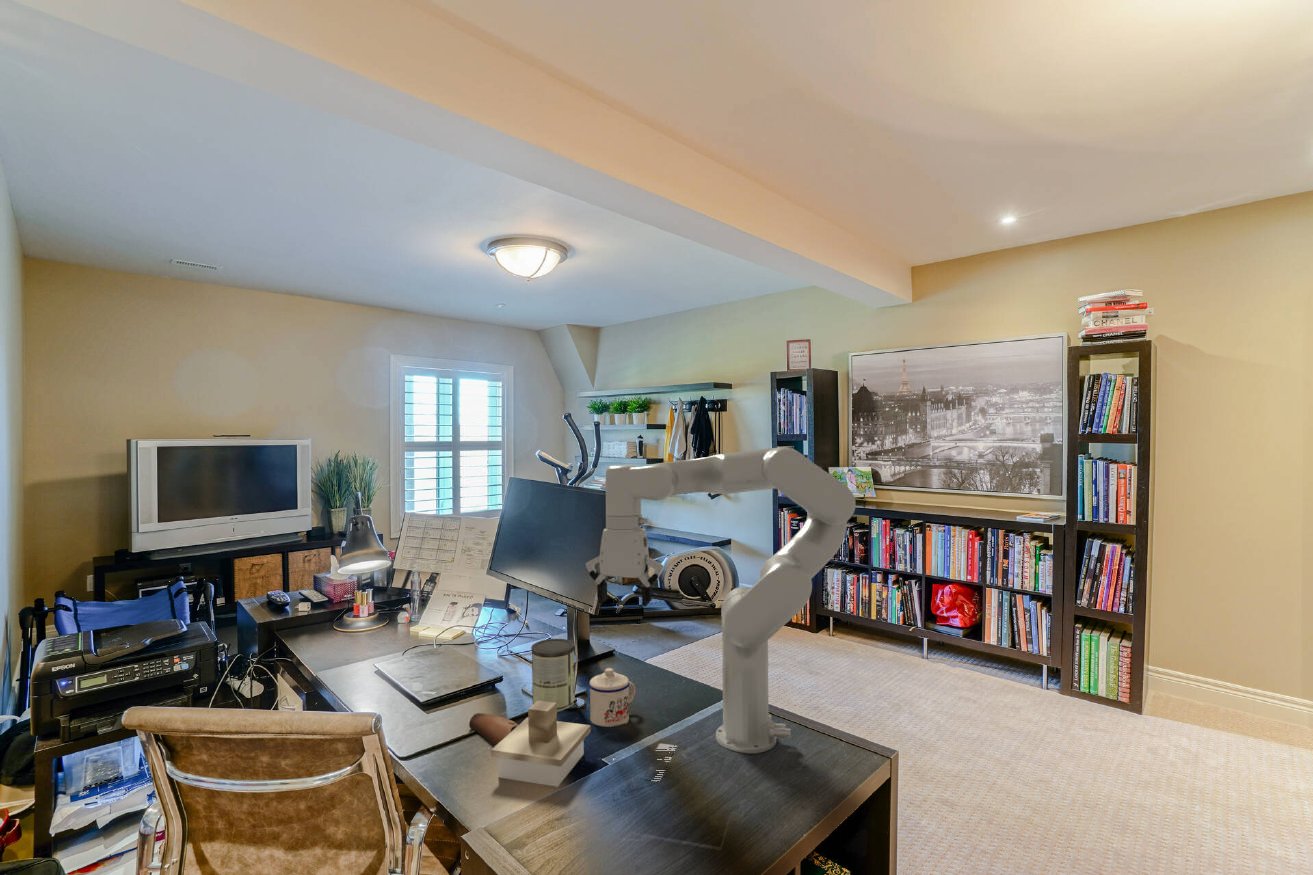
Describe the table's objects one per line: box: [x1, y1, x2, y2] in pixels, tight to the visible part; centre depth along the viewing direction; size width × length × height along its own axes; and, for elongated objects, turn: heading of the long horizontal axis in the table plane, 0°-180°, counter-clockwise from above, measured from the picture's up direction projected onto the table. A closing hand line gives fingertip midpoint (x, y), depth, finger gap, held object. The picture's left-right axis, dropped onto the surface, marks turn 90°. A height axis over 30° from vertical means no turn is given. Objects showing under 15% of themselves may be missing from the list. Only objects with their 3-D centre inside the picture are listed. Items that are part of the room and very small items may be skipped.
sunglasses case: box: [469, 712, 519, 747], centre depth 133 cm, size 18×7×7 cm, turn 41°
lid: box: [490, 701, 592, 767], centre depth 120 cm, size 14×14×7 cm
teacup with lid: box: [588, 667, 636, 728], centre depth 141 cm, size 12×9×12 cm
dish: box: [497, 739, 585, 788], centre depth 120 cm, size 12×12×5 cm
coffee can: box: [530, 638, 576, 713], centre depth 150 cm, size 10×10×14 cm
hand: (624, 603), depth 133 cm, fingers open, 9 cm apart
